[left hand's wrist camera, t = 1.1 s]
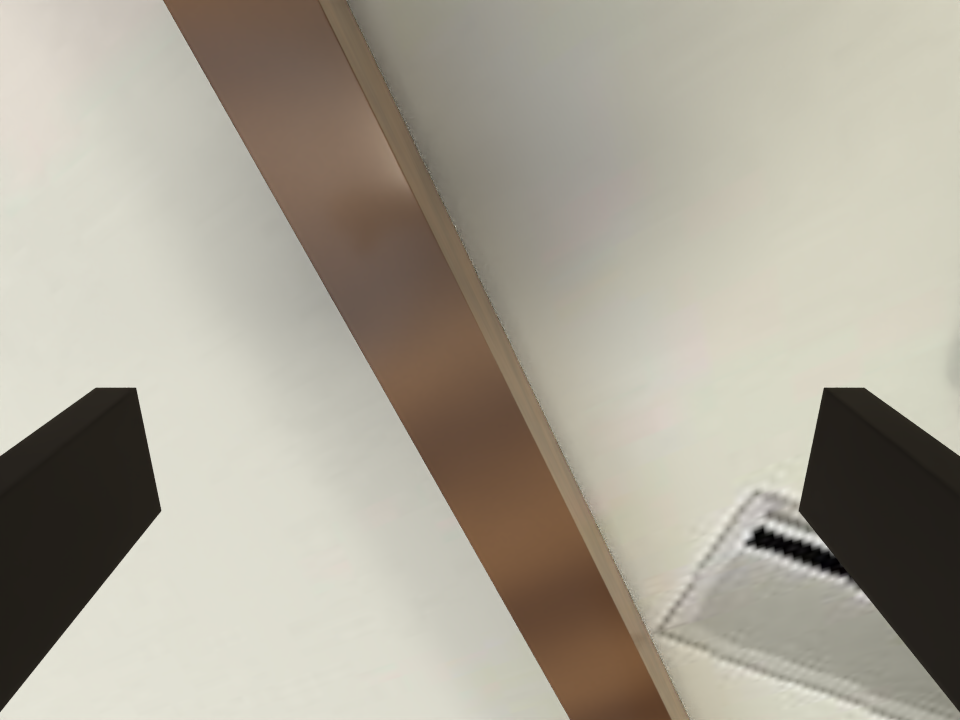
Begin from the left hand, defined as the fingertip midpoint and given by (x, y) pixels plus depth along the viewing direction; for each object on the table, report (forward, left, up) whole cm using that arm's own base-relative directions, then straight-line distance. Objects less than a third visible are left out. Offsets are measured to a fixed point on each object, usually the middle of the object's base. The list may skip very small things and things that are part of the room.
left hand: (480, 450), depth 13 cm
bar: (+13, +10, -22) cm, 27 cm away
